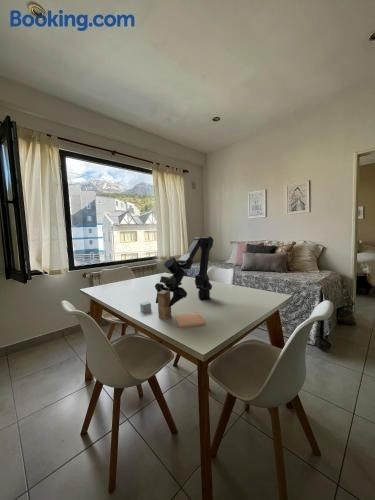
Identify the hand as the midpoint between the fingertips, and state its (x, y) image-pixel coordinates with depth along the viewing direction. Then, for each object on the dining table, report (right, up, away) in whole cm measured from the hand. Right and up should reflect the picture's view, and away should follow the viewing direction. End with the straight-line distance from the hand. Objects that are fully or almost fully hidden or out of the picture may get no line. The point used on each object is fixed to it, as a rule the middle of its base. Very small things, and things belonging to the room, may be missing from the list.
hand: (162, 304), depth 101 cm
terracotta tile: (+13, -7, -4) cm, 15 cm away
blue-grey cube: (-10, -6, +11) cm, 17 cm away
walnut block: (+1, -7, +2) cm, 7 cm away
